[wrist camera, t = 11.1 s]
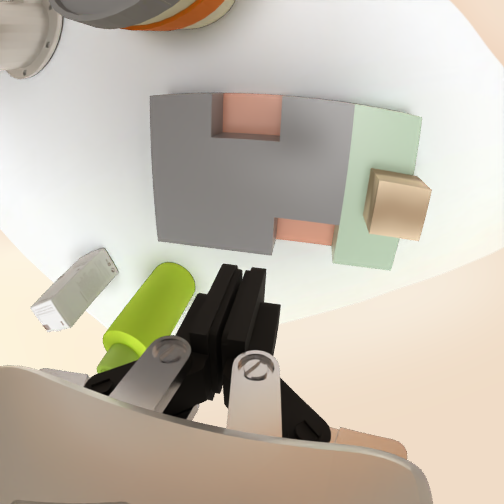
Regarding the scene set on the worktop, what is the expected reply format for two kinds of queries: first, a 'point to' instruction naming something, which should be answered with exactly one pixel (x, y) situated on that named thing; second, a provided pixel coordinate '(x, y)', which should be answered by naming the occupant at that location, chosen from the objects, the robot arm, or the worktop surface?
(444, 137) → the worktop surface
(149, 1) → the reusable coffee cup
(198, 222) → the board
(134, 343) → the soap dispenser
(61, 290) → the skincare box
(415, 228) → the maple block
